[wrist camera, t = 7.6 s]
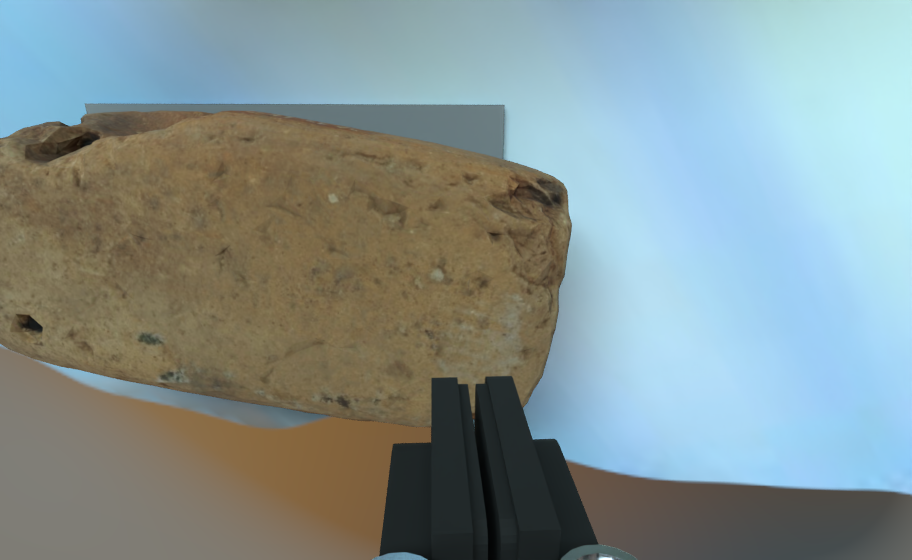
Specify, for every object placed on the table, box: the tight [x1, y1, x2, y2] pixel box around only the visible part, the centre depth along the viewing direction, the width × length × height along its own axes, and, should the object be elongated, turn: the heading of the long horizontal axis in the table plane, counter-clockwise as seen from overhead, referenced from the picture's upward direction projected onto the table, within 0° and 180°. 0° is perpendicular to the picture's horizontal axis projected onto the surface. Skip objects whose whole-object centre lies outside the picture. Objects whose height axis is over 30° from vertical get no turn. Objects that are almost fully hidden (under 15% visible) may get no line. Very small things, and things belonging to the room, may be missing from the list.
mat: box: [85, 104, 504, 159], centre depth 23 cm, size 18×12×1 cm, turn 90°
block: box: [0, 110, 572, 427], centre depth 19 cm, size 11×8×20 cm
